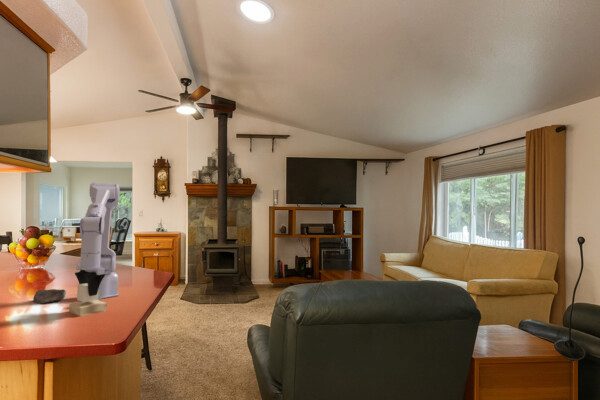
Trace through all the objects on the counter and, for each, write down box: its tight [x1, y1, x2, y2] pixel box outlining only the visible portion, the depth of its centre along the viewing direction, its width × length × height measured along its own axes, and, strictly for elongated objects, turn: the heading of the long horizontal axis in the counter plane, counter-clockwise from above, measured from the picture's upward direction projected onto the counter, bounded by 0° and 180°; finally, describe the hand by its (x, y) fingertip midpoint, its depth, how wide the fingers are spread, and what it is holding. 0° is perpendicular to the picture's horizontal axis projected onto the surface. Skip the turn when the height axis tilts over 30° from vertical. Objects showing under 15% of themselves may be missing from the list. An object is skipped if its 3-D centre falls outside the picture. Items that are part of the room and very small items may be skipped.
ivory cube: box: [76, 283, 98, 302], centre depth 114 cm, size 4×4×5 cm
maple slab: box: [68, 300, 108, 317], centre depth 114 cm, size 8×8×3 cm
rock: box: [32, 288, 67, 304], centre depth 127 cm, size 9×11×4 cm
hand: (88, 294), depth 115 cm, fingers closed on ivory cube, 5 cm apart
